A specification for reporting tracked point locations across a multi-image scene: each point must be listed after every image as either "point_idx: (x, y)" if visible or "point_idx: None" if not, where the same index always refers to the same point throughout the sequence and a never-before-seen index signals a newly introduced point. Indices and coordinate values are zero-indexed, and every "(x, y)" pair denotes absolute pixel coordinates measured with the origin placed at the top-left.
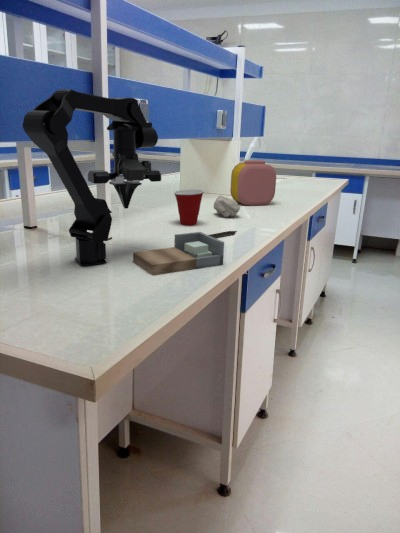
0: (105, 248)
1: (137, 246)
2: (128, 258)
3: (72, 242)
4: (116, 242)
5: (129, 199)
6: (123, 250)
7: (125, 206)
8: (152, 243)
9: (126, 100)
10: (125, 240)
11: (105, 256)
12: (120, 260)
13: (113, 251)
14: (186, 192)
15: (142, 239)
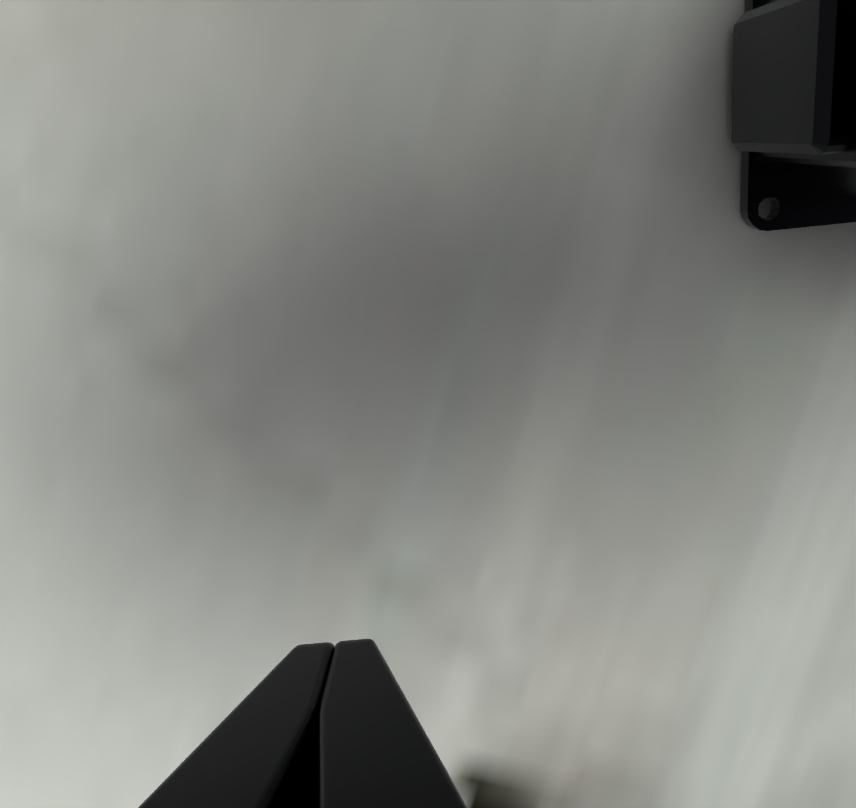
0: (792, 2)
1: (221, 503)
2: (441, 68)
3: (795, 794)
4: None
5: (205, 787)
6: (408, 400)
7: (362, 656)
8: (33, 567)
9: None
10: None
11: (752, 11)
12: (553, 15)
13: (521, 394)
14: None
15: (109, 730)
